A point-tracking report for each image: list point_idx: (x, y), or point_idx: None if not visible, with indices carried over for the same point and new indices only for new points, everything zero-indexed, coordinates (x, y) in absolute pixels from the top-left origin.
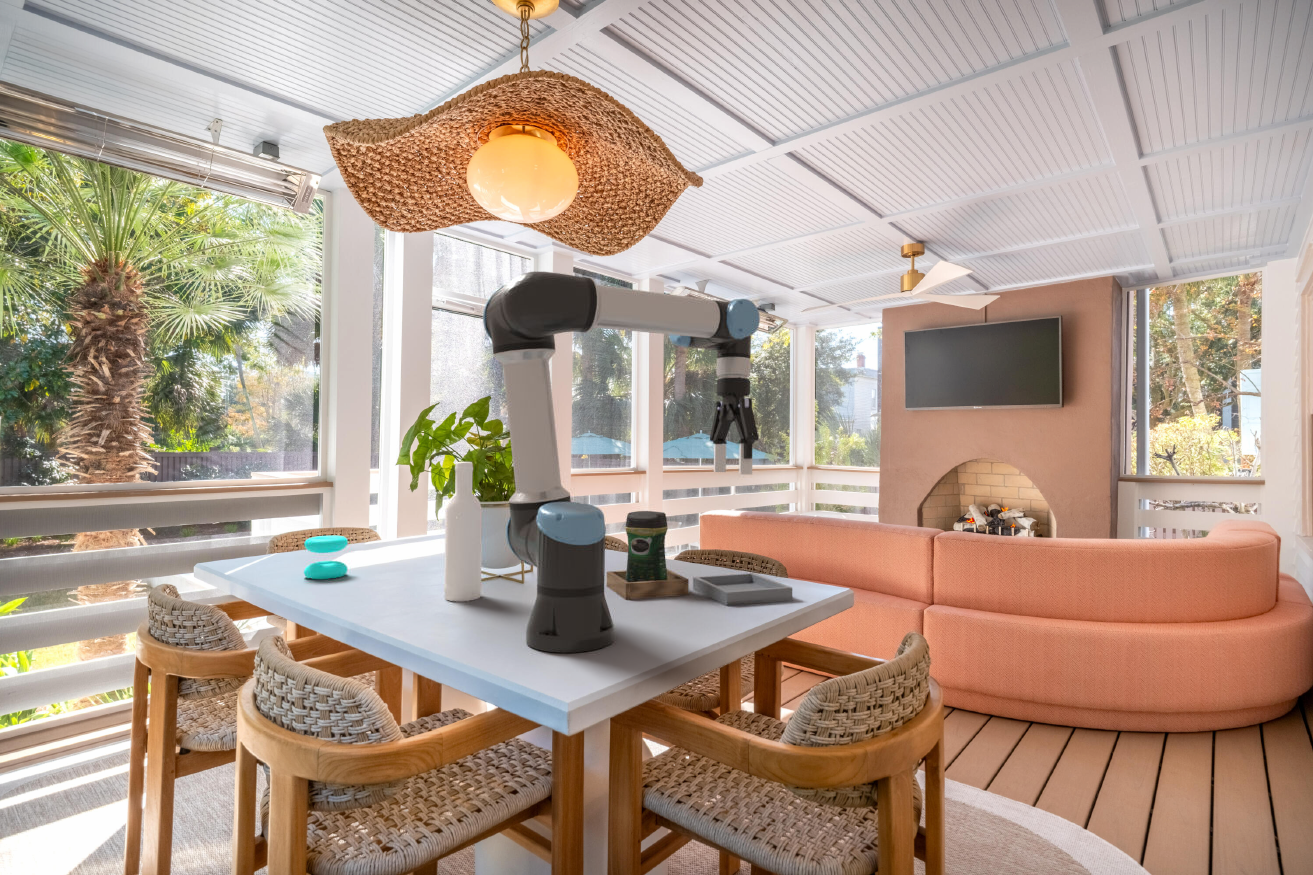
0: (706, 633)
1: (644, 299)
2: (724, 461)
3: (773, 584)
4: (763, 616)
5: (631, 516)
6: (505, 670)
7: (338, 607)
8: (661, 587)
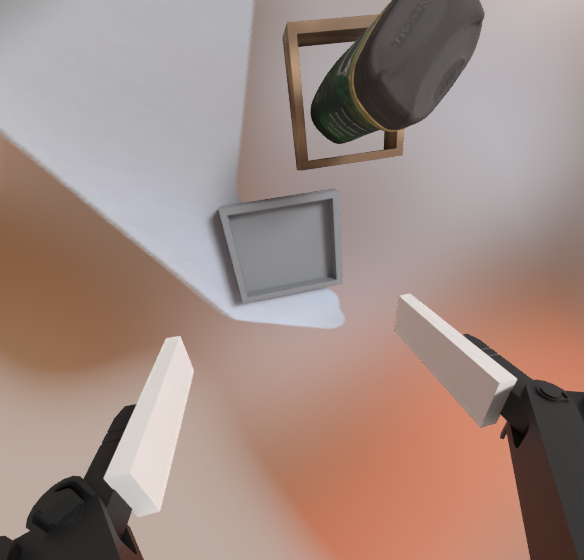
0: (46, 122)
1: None
2: (419, 353)
3: (278, 290)
4: (158, 237)
5: None
6: None
7: None
8: (294, 115)
